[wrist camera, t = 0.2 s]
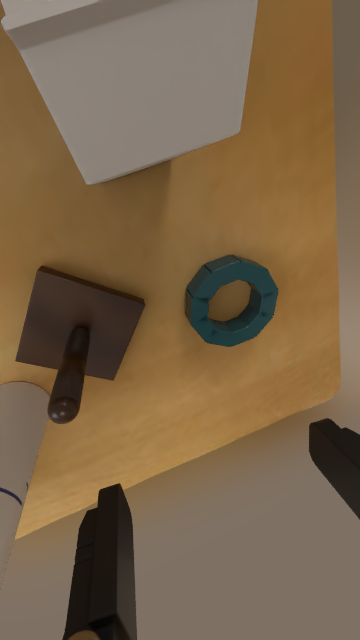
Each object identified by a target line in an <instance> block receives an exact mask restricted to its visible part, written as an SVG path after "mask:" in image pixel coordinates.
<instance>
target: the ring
mask: <svg viewBox="0 0 360 640" xmlns="http://www.w3.org/2000/svg"><path fill="white" fill-rule="evenodd" d="M204 265H205V266H202V267H201V269H200V270H199V271H198V273H197V274H196V275H195V277H194V278H193V279H192V281H191V282H190V284H189V285H188V286H187V289H186V306H185V313H186V316H187V318H188V320H189V322H190V324H191V325H192V327H193V328H194V329H195V330H196V331H197V333H198V334H199V335H200V336H201V337H202V339H203V340H204V341H205V342H207V343H210V344H215V345H221V346H227V347H230V346H231V347H232V346H235V345H237V344H240V343H242V342H245V341H247V340H250V339H252V338H254V336H255V337H256V336H257V335H258V334H259V333H260V331H261V330H262V329H263V328H264V327H265V326H266V325H267V323H268V322H269V321H270V320H271V319H272V318H273V317H272V316H274V311H275V306H276V301H277V296H278V288H277V287H276V285H275V283H274V281H273V279H272V277H271V275H270V273H269V271H268V270H267V269H266V268H265V267H263V266H261V265H260V264H258V263H256V262H254V261H251V260H248V259H245V258H242V257H238V256H235V255H227V256H225V257H222V258H220V259H217V260H214V261H212V262H209V263H206V264H204ZM238 279H239V280H243V281H246V282H248V284H249V285H250V287H251V296H250V303H249V305H248V306H247V307H246V309H245V310H244V311H243V312H242V313H241V315H240V316H239V317H237V318H234V319H231V320H229V321H226V322H220V321H215V320H210V319H209V318H208V307H209V300H210V299H211V298H212V297H213V295H214V294H215V293H216V291H217V290H218V289H219V287H220V286H222V285H225V284H227V283H230V282H233V281H235V280H238Z"/></svg>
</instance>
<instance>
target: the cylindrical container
mask: <svg viewBox="0 0 360 640" xmlns="http://www.w3.org/2000/svg"><path fill="white" fill-rule="evenodd" d="M49 400H50V396H49V395H48V393H47V392H46V391H45V390H43V389H42V388H40V387H39V386H36V385H34V384H31V383H27V382H11V383H6V384H3V385H1V386H0V588H1V584H2V581H3V578H4V574H5V571H6V567H7V563H8V560H9V556H10V552H11V549H12V545H13V542H14V538H15V535H16V531H17V528H18V524H19V520H20V517H21V513H22V510H23V506H24V503H25V499H26V495H27V492H28V488H29V485H30V481H31V478H32V474H33V471H34V467H35V463H36V460H37V456H38V453H39V449H40V446H41V442H42V438H43V435H44V431H45V428H46V424H47V421H48V417H49V416H48V413H47V408H48V403H49Z"/></svg>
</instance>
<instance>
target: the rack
mask: <svg viewBox="0 0 360 640" xmlns="http://www.w3.org/2000/svg"><path fill="white" fill-rule="evenodd" d="M144 307H145V302H144V299H141V298H138V297H135V296H132V295H129V294H126V293H123V292H120V291H117V290H114V289H110V288H107V287H104V286H101V285H98V284H95V283H92V282H89V281H86V280H83V279H80V278H77V277H74V276H71V275H68V274H65V273H62V272H59V271H55V270H52V269H49V268H46V267H43V266H41V267H40V268H39V269H38V270H37V274H36V278H35V282H34V286H33V290H32V294H31V299H30V303H29V307H28V311H27V315H26V319H25V323H24V327H23V331H22V336H21V340H20V344H19V348H18V352H17V356H16V360H15V361H17V362H22V363H27V364H32V365H37V366H42V367H47V368H52V369H58V373H57V376H56V380H55V383H54V386H53V390H52V393H51V397H50V400H49V403H48V408H47V413H48V416H49V418H50V419H51V420H52V421H53V422H55V423H58V424H65V423H68V422H70V421H72V420H73V419H74V418H75V417H76V416H77V414H78V413H79V409H80V403H81V396H82V390H83V383H84V377H85V375H88V376H93V377H98V378H103V379H108V380H114V378H115V376H116V373H117V371H118V369H119V366H120V364H121V361H122V359H123V357H124V354H125V352H126V350H127V347H128V345H129V342H130V340H131V338H132V335H133V333H134V330H135V328H136V326H137V323H138V321H139V318H140V316H141V314H142V311H143V309H144Z"/></svg>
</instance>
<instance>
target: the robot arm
mask: <svg viewBox="0 0 360 640" xmlns="http://www.w3.org/2000/svg"><path fill="white" fill-rule="evenodd" d="M309 452H310V455H311V458H312V460H313V461H314V463H315V465H316V466H317V467H318V469H319V470H320V471H321V472H322V474H323V475H324V476H325V477H326V478H327V480H328V481H329V482H330V483H331V485H332V486H333V487H334V488H335V490H336V491H337V492H338V493H339V495H340V496H341V497H342V498H343V499H344V501H345V502H346V503H347V504H348V506H349V507H350V508H351V509H352V510H353V512H354V513H355V514H356V515H357V517H358V518H359V519H360V435H359V434H357V433H356V432H354V431H352V430H350V429H348V428H342V429H341V428H340V427H339V426H338V425H336V424H335V423H334V422H333V421H332V420H331V419H328V418H326V419H323V420H320V421H317V422H313V423H311V424H310V426H309ZM63 640H137V628H136V601H135V575H134V550H133V525H132V517H131V512H130V508H129V506H128V503H127V500H126V498H125V495H124V492H123V489H122V487H121V484H120V483H119V484H115V485H112V486H109V487H106V488H103V489H100V491H99V496H98V507H97V508H95V509H91V510H88V511H87V512H86V515H85V517H84V519H83V521H82V523H81V525H80V528H79V534H78V541H77V549H76V556H75V565H74V570H73V577H72V584H71V591H70V599H69V606H68V613H67V621H66V628H65V633H64V636H63Z"/></svg>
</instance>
